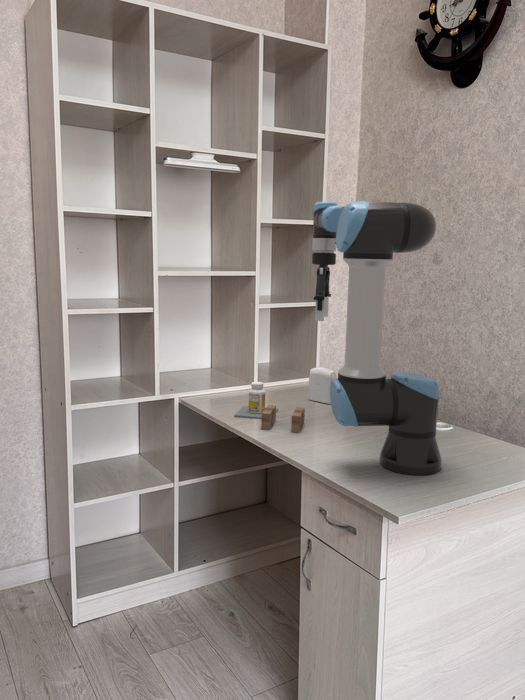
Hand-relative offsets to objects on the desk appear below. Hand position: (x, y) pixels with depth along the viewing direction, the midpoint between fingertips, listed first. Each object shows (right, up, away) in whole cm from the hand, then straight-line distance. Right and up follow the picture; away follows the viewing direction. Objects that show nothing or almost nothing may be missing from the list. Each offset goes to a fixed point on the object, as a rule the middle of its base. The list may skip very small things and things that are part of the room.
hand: (321, 318), depth 192 cm
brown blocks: (-13, -33, -10) cm, 37 cm away
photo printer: (+2, -29, +21) cm, 36 cm away
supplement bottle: (-21, -31, +3) cm, 37 cm away
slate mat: (-21, -31, +4) cm, 38 cm away
